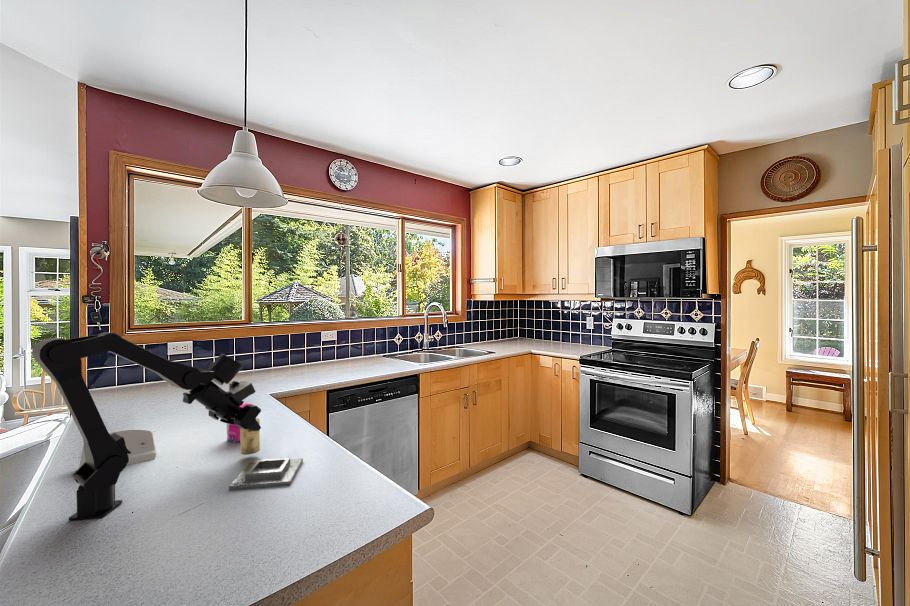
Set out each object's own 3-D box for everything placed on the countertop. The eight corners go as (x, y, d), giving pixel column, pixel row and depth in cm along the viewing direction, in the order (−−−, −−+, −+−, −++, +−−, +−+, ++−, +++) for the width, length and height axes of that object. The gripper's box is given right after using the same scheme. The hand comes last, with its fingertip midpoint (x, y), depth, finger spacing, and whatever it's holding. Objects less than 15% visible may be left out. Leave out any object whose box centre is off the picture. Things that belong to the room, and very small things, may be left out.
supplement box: (226, 440, 127) (225, 406, 127) (243, 434, 132) (242, 401, 132) (236, 443, 124) (236, 408, 124) (254, 437, 129) (253, 403, 129)
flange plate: (289, 485, 96) (289, 475, 96) (229, 490, 93) (228, 480, 93) (302, 461, 109) (302, 453, 109) (250, 465, 107) (250, 456, 107)
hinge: (77, 475, 102) (78, 436, 105) (79, 475, 106) (80, 438, 108) (156, 458, 113) (155, 423, 115) (156, 459, 116) (155, 425, 119)
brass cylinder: (256, 454, 111) (256, 422, 111) (237, 455, 110) (237, 423, 110) (262, 447, 116) (261, 417, 116) (244, 448, 115) (244, 418, 115)
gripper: (253, 377, 104) (290, 408, 114) (219, 370, 115) (256, 399, 124) (223, 413, 98) (265, 443, 107) (189, 403, 108) (231, 431, 117)
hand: (254, 427), depth 114 cm, fingers closed on brass cylinder, 5 cm apart
